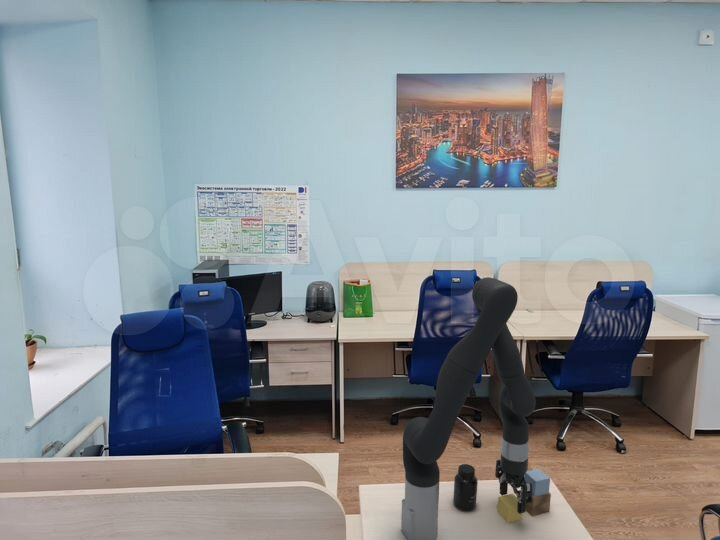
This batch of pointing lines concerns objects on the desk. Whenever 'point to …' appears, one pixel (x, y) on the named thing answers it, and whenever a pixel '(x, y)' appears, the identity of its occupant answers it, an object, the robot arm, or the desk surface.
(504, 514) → the top block
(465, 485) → the supplement bottle
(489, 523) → the desk surface
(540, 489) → the tower mid
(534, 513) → the tower base
